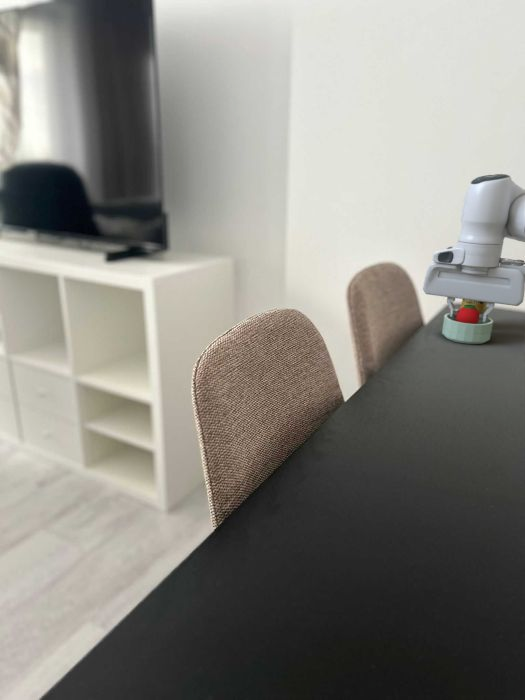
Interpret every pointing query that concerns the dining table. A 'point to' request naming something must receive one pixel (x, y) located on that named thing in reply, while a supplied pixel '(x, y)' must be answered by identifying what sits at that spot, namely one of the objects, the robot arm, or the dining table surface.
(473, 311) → the tomato
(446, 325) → the bowl
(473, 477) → the dining table surface
